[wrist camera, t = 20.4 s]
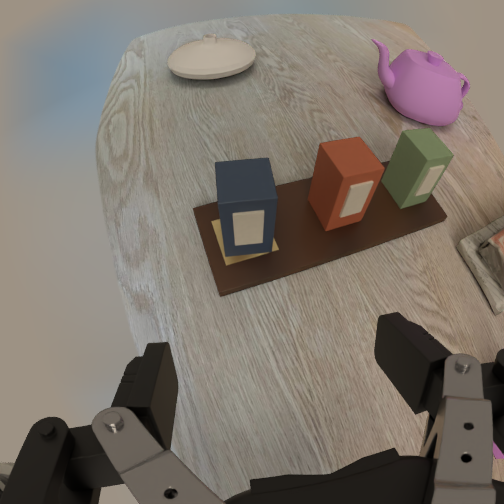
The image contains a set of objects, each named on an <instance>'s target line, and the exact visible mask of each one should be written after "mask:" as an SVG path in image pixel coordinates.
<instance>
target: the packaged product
mask: <svg viewBox="0 0 504 504" xmlns="http://www.w3.org/2000/svg"><path fill="white" fill-rule="evenodd" d="M456 248H457V249H458V251H459V252H460V254H461V255H462V257H463V258H464V260H465V261H466V263H467V265H468V266H469V268H470V269H471V271H472V273H473V274H474V276H475V278H476V279H477V281H478V283H479V284H480V286H481V288H482V290H483V291H484V293H485V295H486V297H487V299H488V300H489V303H490V305H491V307H492V309H493V311H494V313H495V315H497V314H500V313H501V312H502V311H504V215H503V216H502V217H500V218H498V219H496V220H495V221H493V222H492V223H490V224H488V225H487V226H485V227H483V228H481V229H480V230H478V231H476V232H475V233H473V234H471V235H469V236H468V237H466V238H464V239H462V240H461V241H460V242H459V244H458V245H457V247H456Z"/></svg>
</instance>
